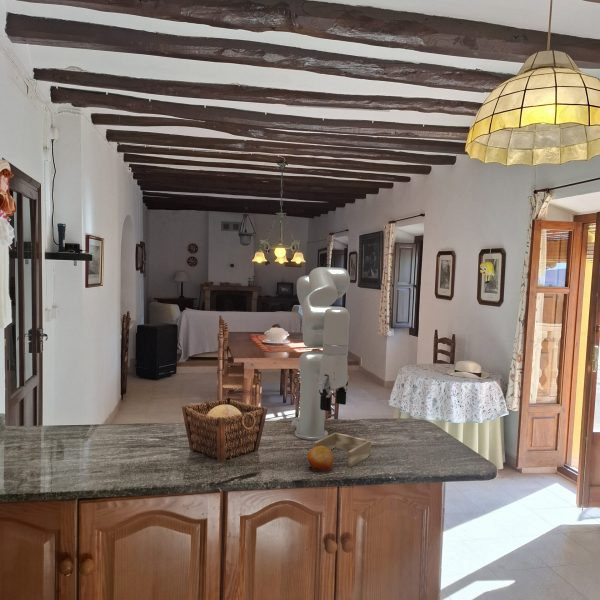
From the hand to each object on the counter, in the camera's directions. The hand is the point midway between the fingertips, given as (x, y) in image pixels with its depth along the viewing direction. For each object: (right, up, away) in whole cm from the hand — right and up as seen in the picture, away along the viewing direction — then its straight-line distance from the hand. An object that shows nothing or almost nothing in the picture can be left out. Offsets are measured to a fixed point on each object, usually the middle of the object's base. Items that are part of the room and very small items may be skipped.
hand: (333, 407), depth 153 cm
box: (+4, -20, +18) cm, 28 cm away
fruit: (-4, -21, +7) cm, 22 cm away
